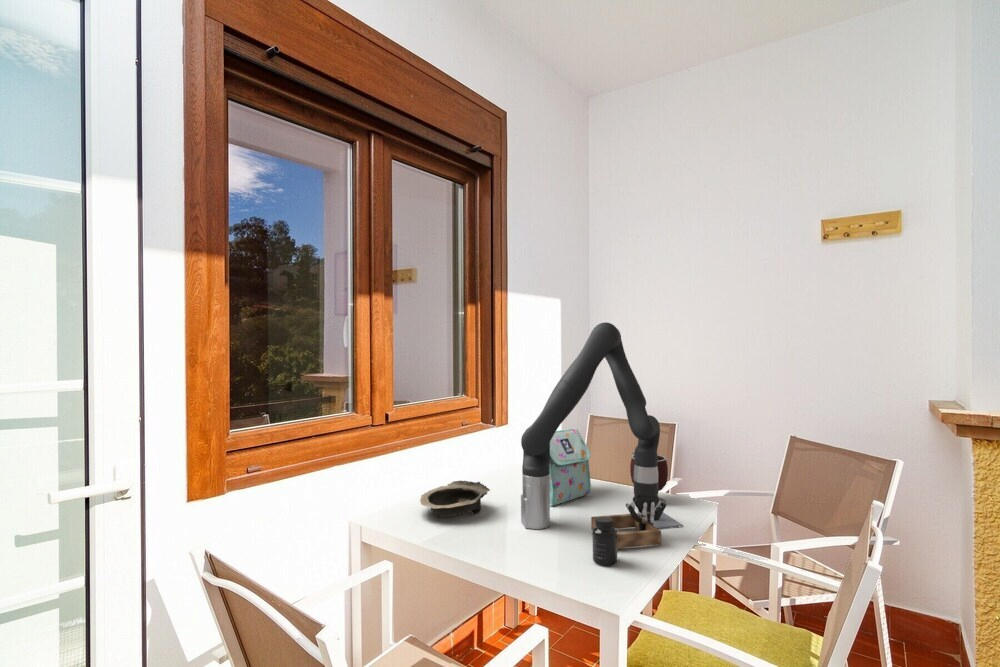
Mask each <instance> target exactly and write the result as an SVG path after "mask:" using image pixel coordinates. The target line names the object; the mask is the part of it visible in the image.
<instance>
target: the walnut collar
mask: <svg viewBox="0 0 1000 667" xmlns="http://www.w3.org/2000/svg"><path fill="white" fill-rule="evenodd" d="M637 515H638V514H637ZM597 517H609V518H611V519H613V527H612V528H614V529H615V530H619V529H631V528H635V529H636V530H637V531H636V530H635V531H623V532H617V549H625V548H638V547H649V546H650V547H651V546H658V545H659V546H660V545H662V530H661V529H657V528H656V527H655V526H653V525H652V524H650V523H649V522H648V521H646V520H645V524H646V530H645V531H639V522H637V521H636V520H634V519H633V517H632V516H631V514H630V513H626V514H625V513H624V514H623V513H622V514H612V515H598V516H591V518H590V522H591V523H590V526H591V528H590V529H591V530H592V531H593V529H594V528H595V527H596V526H595V523H596V518H597Z"/></svg>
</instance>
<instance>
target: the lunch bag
mask: <svg viewBox="0 0 1000 667" xmlns="http://www.w3.org/2000/svg"><path fill="white" fill-rule="evenodd" d="M590 458H591V451H590V449H589V447H588V445H587V444H586V442H585V440H584V438H583V437H582V435H581V432H580V431H579V429H578V428H565V429H559V430H558V429H557V430H556V432H555V434H554V435H553V437H552V439H551V441H550V473H549V474H550V507H553V506H557V505H560V503H561V504H563V503H567V502H569V501H572V500H575V499H578V498H582V497H585V496H587V495H589V494H590V493H591V490H592V485H591V473H590V464H589V459H590Z"/></svg>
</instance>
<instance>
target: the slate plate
mask: <svg viewBox="0 0 1000 667" xmlns="http://www.w3.org/2000/svg"><path fill="white" fill-rule="evenodd" d="M636 513H637V514H638V512H636ZM645 520H646V521H648V520H647V513H646V517H645ZM653 526H655V527H656V528H657V529H659V530H662V529H661V528H665V529H671V528H670V527H676V528H680V527H679V526H683V527H684V524H682V523H681V522H679V521H677V519H674V518H673V517H671V515H668V514H667V513H666V512H664V511H663V513H662V515H661V517H660V519H659V520H658V521H657V520H656V521H654V522H653Z"/></svg>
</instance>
